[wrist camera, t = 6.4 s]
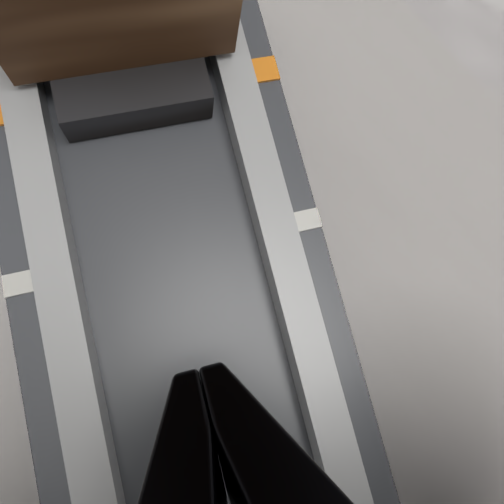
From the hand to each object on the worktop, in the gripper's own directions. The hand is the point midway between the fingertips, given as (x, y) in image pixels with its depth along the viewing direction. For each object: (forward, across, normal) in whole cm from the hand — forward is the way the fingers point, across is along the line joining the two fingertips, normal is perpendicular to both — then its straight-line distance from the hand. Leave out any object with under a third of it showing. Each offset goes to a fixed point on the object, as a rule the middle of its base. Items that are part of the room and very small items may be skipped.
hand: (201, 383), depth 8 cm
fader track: (+6, 0, +3) cm, 7 cm away
